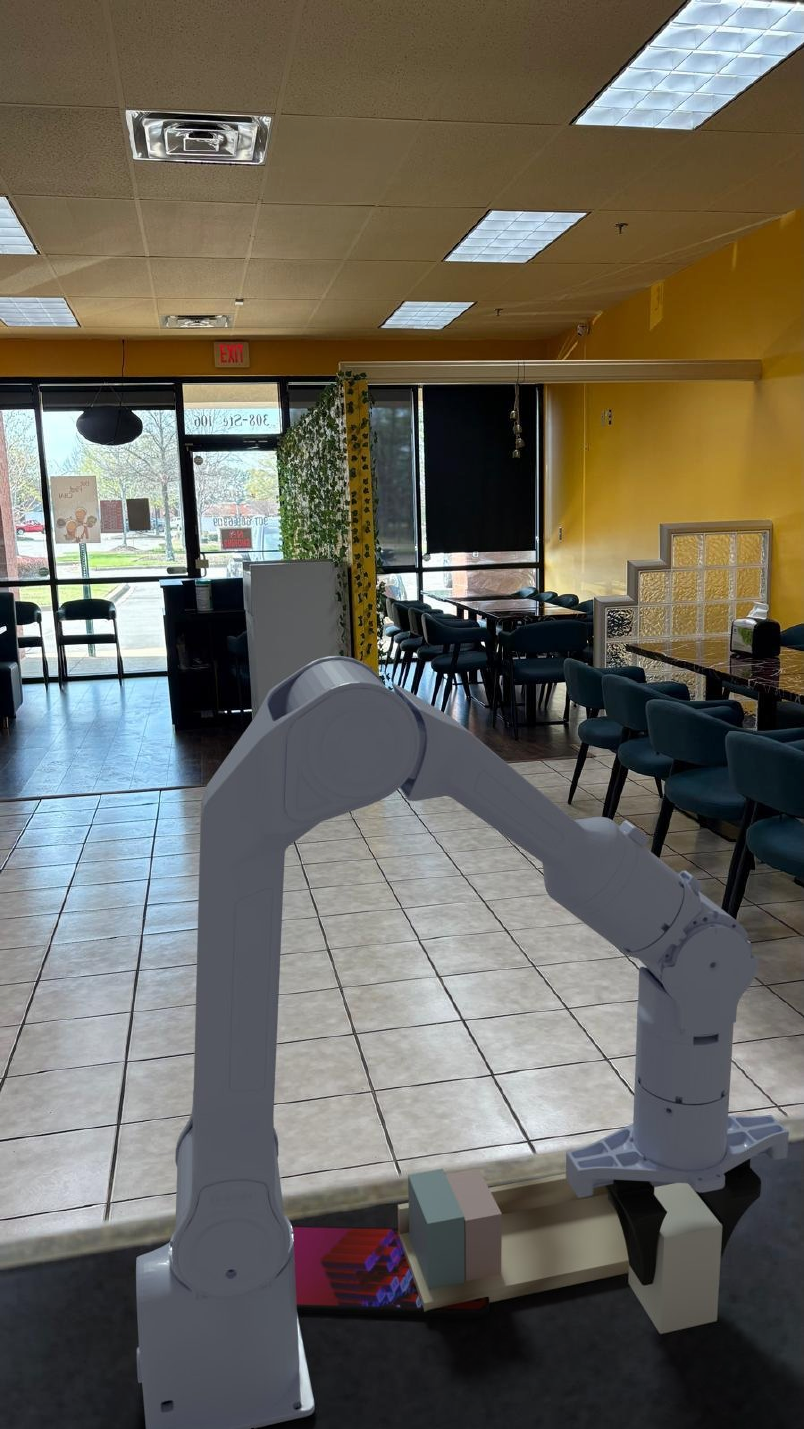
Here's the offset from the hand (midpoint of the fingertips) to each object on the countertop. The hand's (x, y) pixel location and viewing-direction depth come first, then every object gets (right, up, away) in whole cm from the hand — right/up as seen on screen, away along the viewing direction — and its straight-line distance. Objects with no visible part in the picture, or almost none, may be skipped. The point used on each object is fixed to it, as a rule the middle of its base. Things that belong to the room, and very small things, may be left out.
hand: (673, 1266), depth 66 cm
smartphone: (-19, -3, +4) cm, 20 cm away
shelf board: (-8, -2, +5) cm, 10 cm away
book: (0, -3, +1) cm, 3 cm away
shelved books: (-14, -2, +4) cm, 15 cm away
